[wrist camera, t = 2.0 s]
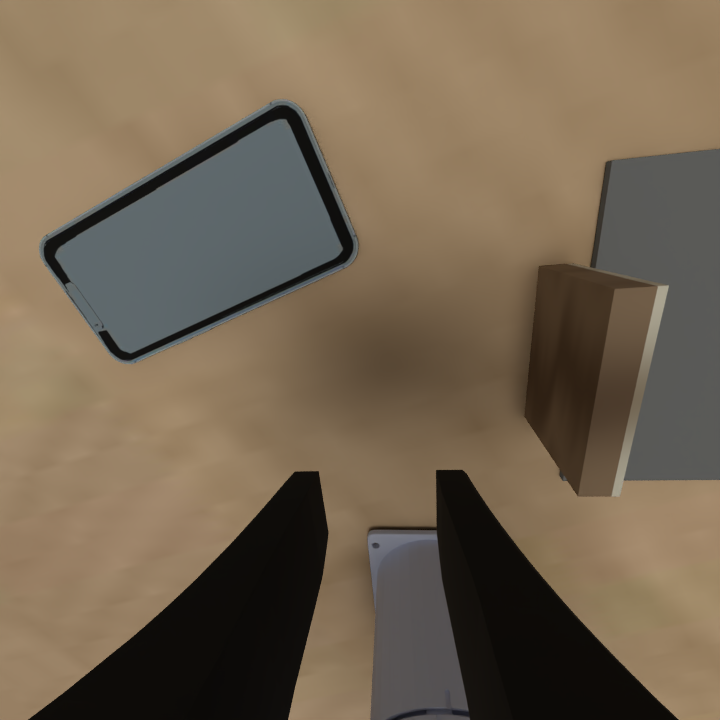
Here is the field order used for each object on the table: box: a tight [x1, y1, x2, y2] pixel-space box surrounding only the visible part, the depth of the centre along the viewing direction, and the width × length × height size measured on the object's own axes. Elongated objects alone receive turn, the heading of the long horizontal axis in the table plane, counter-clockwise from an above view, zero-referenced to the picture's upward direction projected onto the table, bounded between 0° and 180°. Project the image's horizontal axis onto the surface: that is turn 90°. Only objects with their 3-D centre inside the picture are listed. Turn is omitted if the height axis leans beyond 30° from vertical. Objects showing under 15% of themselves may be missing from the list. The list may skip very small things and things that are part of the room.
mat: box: [560, 149, 720, 481], centre depth 16 cm, size 16×12×1 cm
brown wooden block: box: [524, 263, 669, 496], centre depth 15 cm, size 8×2×6 cm, turn 5°
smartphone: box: [39, 99, 358, 364], centre depth 17 cm, size 7×1×15 cm
